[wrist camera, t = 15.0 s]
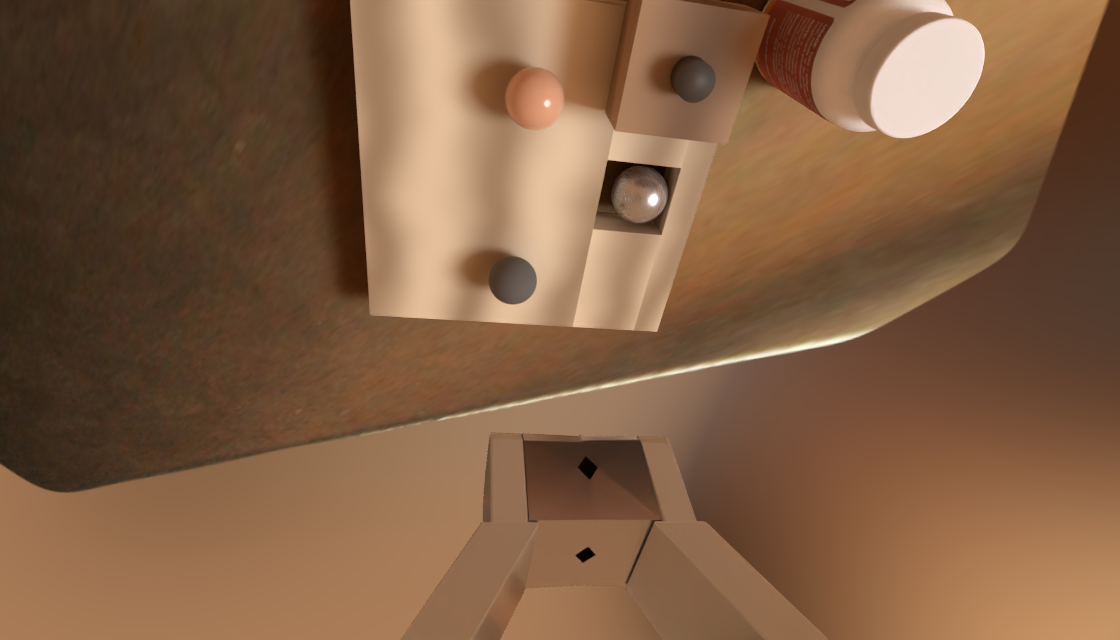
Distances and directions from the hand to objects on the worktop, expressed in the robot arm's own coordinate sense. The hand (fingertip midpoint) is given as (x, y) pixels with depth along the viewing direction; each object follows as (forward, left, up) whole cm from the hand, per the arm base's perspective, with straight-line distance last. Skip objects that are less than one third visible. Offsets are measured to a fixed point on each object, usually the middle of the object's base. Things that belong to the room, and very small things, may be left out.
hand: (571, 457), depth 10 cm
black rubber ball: (+1, -11, -23) cm, 26 cm away
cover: (+8, +2, -24) cm, 26 cm away
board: (+2, -6, -27) cm, 28 cm away
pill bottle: (+16, +4, -27) cm, 32 cm away
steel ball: (+8, -6, -25) cm, 27 cm away
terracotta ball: (+1, 0, -23) cm, 23 cm away
